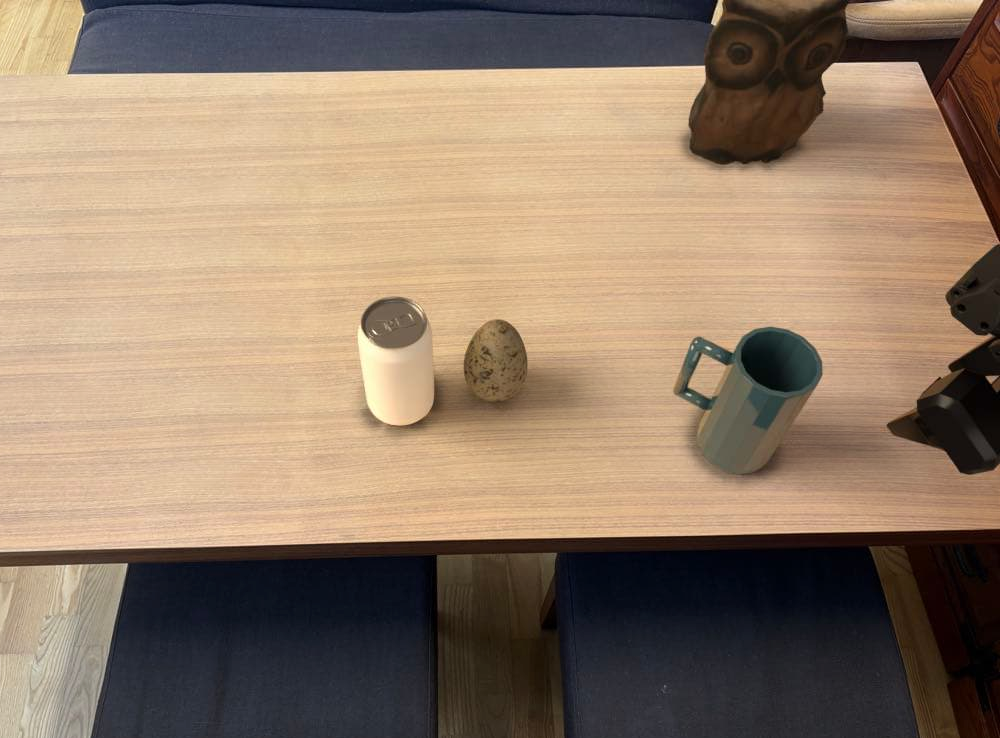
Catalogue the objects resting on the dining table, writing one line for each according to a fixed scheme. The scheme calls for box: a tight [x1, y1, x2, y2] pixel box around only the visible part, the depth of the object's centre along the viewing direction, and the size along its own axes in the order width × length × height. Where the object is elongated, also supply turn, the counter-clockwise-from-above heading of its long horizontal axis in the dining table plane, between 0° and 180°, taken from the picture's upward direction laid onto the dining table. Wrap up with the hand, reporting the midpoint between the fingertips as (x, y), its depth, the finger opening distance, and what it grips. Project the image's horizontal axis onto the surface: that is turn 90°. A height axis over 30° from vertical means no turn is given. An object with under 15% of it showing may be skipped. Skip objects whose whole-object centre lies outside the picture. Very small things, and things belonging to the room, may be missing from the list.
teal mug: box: [672, 326, 824, 475], centre depth 75 cm, size 10×7×13 cm, turn 56°
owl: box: [687, 0, 852, 166], centre depth 94 cm, size 13×13×20 cm
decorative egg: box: [463, 318, 529, 403], centre depth 78 cm, size 6×6×10 cm
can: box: [357, 295, 435, 426], centre depth 77 cm, size 6×6×12 cm
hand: (921, 398), depth 68 cm, fingers open, 9 cm apart
